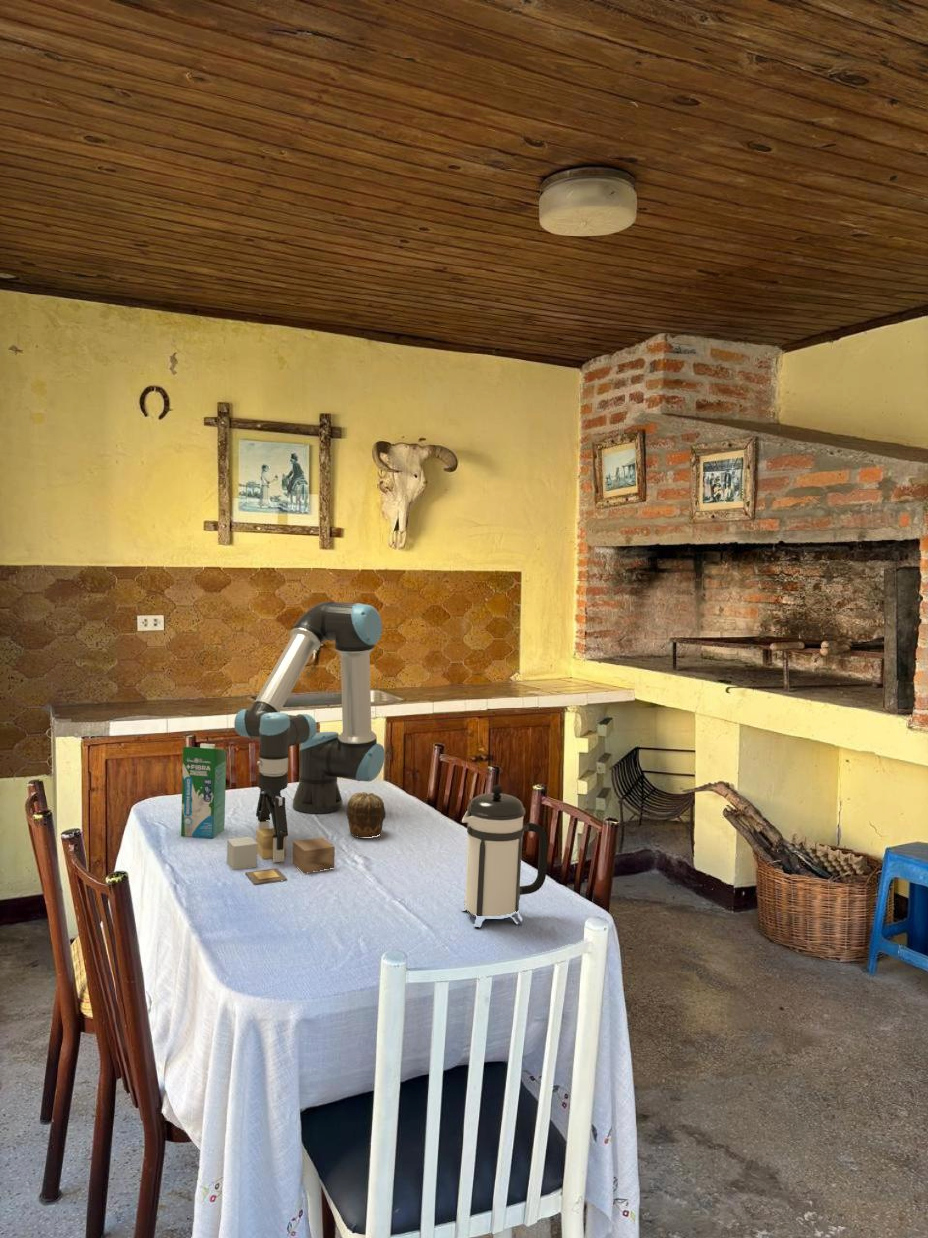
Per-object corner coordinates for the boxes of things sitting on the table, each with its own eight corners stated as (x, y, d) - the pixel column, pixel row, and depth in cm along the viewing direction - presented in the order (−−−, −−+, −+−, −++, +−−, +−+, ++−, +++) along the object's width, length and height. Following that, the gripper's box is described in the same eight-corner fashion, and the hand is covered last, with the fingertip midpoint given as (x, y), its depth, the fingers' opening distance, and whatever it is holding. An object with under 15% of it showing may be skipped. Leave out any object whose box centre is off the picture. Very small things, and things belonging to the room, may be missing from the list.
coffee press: (508, 938, 193) (515, 799, 191) (444, 920, 201) (450, 785, 199) (545, 913, 208) (552, 783, 205) (485, 896, 216) (490, 771, 214)
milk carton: (224, 829, 258) (226, 741, 257) (212, 838, 249) (214, 748, 248) (193, 826, 259) (195, 739, 257) (180, 836, 250) (182, 746, 248)
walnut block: (322, 860, 237) (322, 837, 236) (334, 870, 230) (334, 846, 229) (292, 864, 233) (293, 841, 232) (303, 874, 226) (304, 850, 225)
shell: (338, 837, 255) (339, 795, 254) (357, 827, 265) (358, 786, 265) (372, 843, 251) (374, 800, 250) (390, 833, 261) (392, 791, 261)
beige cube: (250, 859, 235) (250, 836, 234) (256, 867, 229) (257, 843, 229) (226, 862, 232) (227, 839, 231) (232, 870, 226) (233, 846, 226)
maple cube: (278, 849, 243) (279, 827, 243) (285, 856, 238) (286, 834, 238) (256, 852, 240) (256, 830, 240) (262, 859, 235) (263, 836, 235)
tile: (277, 869, 228) (277, 867, 228) (287, 880, 221) (287, 877, 221) (245, 874, 224) (245, 871, 224) (254, 885, 217) (254, 882, 217)
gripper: (245, 763, 247) (243, 841, 248) (273, 785, 225) (270, 870, 226) (273, 761, 250) (270, 838, 252) (302, 783, 229) (299, 866, 230)
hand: (270, 853), depth 239 cm, fingers open, 13 cm apart
